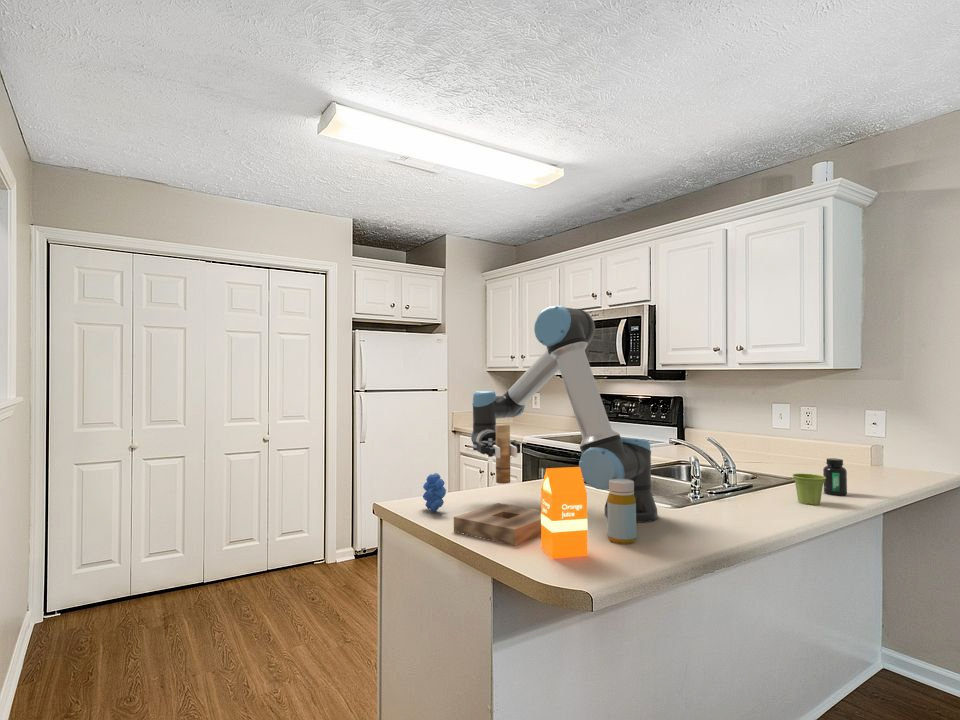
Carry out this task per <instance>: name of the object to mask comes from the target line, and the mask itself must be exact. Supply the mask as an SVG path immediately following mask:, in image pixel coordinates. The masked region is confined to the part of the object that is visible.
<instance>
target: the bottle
mask: <svg viewBox="0 0 960 720" xmlns="http://www.w3.org/2000/svg"><path fill="white" fill-rule="evenodd" d="M608 495H609V496H608ZM608 495H607V498H608V501H607V500H606V501H607V512H608V517H607V538H608V540H610V542H612V543H614V544H619V545H631V544H633V543H635V542H636V541H637V522H636V499H635V496H634V481H633V480H629V479H611V480H609V489H608Z"/></svg>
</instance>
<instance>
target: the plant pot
mask: <svg viewBox="0 0 960 720" xmlns="http://www.w3.org/2000/svg"><path fill="white" fill-rule="evenodd" d="M791 476H792V478H793V481H794V482H795V483H794V484H795V488H796V489H795V490H796V496H797V501H798V503H800V504H803V505H808V504H809V505H812V506H818V505H820V504H821V499H822V493H823V489H824V480H825V479H826V477H824V476H823V475H821V474H820V475H819V474H812V473H793V474H792V475H791Z"/></svg>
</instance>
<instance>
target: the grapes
mask: <svg viewBox="0 0 960 720" xmlns="http://www.w3.org/2000/svg"><path fill="white" fill-rule="evenodd" d="M445 484H446V483H445V481H444V480H443V478H441V475H440V474H439V473H437V472H435V473H431V474H429V475H428V476H427V477H426V479H425V482H424V484H423V487H422V488H423V489H424V491H425V492H424V493H423V495H422V498H423V500H425V507H426V508H427V509H429V510H431V511H432V512H434V513H435V512H437V511H438V510H439V508H441V507H442V506H444V503H445V501H444V500H443V499H444V497H445V496H446V493H447V489H446V487H445Z"/></svg>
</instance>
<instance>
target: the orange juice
mask: <svg viewBox="0 0 960 720" xmlns="http://www.w3.org/2000/svg"><path fill="white" fill-rule="evenodd" d="M586 488H587V487H586V485H585V480H584V479H583V477H582V473H581V469H580V467H579V466H573V467H572V466H571V467H568V466H567V467H551V468H547V467H546V468H545V473H544V476H543V480H542V484H541V487H540V510H541V535H540V537H541V543H540V544H541V547H540V548H541V550H542V551H543V552H544V553H545V554H547V555H548V557H550V558H551V559H552V560H554V559H565V558H574V557H575V558H576V557H578V558H579V557H588V492H587V489H586Z"/></svg>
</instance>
